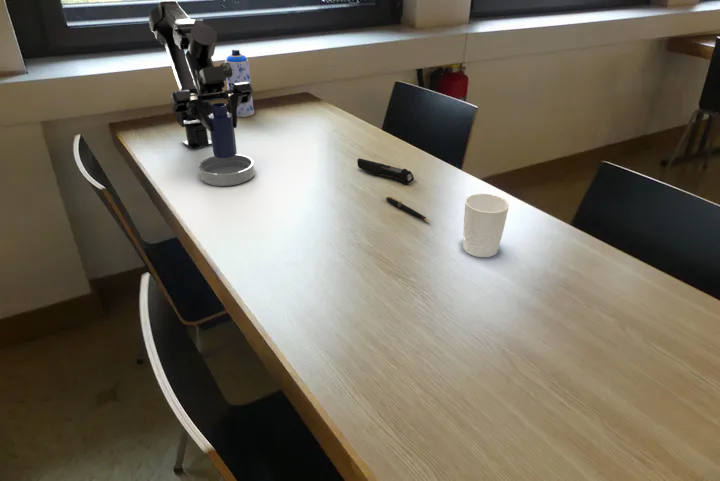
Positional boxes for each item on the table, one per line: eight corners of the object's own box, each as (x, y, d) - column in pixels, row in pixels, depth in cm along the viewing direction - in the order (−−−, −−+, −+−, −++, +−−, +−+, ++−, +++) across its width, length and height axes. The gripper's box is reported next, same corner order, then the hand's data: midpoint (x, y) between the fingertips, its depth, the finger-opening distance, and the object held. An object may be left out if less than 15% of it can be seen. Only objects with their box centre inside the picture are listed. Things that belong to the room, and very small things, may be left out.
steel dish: (191, 174, 132) (189, 162, 131) (237, 161, 140) (236, 150, 138) (216, 191, 124) (215, 179, 122) (264, 177, 131) (263, 165, 130)
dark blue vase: (214, 150, 131) (207, 101, 125) (237, 149, 132) (231, 101, 125) (212, 158, 126) (205, 108, 120) (236, 157, 127) (230, 108, 121)
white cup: (503, 242, 106) (510, 197, 101) (498, 262, 99) (506, 215, 94) (463, 235, 108) (469, 190, 103) (456, 255, 101) (462, 208, 96)
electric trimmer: (362, 166, 138) (362, 155, 137) (414, 180, 131) (415, 168, 129) (354, 171, 136) (354, 159, 134) (407, 185, 128) (407, 173, 126)
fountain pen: (432, 223, 112) (432, 217, 111) (428, 225, 111) (428, 219, 111) (387, 199, 122) (387, 193, 121) (383, 200, 121) (384, 194, 120)
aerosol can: (226, 116, 172) (218, 52, 162) (235, 109, 179) (228, 47, 169) (249, 117, 171) (243, 53, 161) (257, 110, 178) (252, 48, 168)
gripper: (164, 54, 116) (186, 118, 113) (246, 46, 124) (268, 106, 122) (162, 82, 125) (182, 142, 123) (238, 73, 134) (258, 129, 131)
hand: (223, 129), depth 125 cm, fingers closed on dark blue vase, 5 cm apart
